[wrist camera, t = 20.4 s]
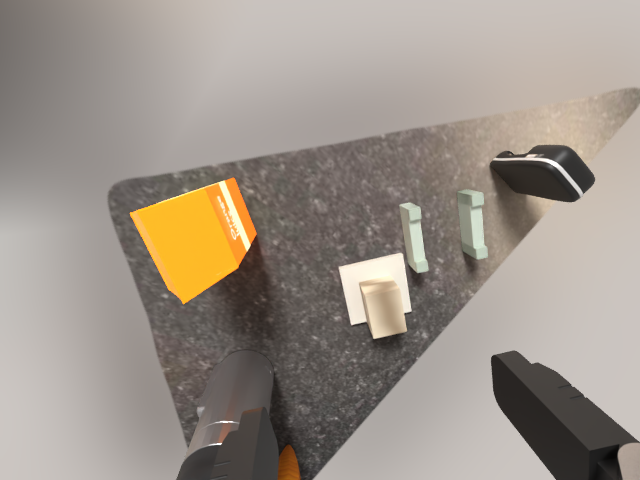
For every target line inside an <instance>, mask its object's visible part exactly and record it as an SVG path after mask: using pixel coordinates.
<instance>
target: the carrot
mask: <svg viewBox="0 0 640 480" xmlns="http://www.w3.org/2000/svg"><path fill="white" fill-rule="evenodd" d="M277 480H301V477H300V471H299V466H298V461H297V458H296V455H295V453H294V450H293V448H292V447H291V445H289V444H288V445H286V446H285V448H284V450H283V451H282V453H281V454H280V457H279V465H278V479H277Z"/></svg>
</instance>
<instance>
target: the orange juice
mask: <svg viewBox="0 0 640 480" xmlns="http://www.w3.org/2000/svg"><path fill="white" fill-rule="evenodd" d="M130 215H131V217H132V219H133V221H134V222H135V224H136V226H137V228H138V230H139V232H140V234H141V236H142V238H143V240H144V242H145V244H146V246H147V248H148V250H149V252H150V254H151V256H152V258H153V260H154V262H155V264H156V266H157V267H158V269H159V271H160V273H161V275H162V277H163V279H164V281H165V283H166V285H167V287H168V289H169V291H172V292H173V293H174V294H175V295H176V296H178V297H179V298H180V299H181V300H182V302H183V304H184V303H186V302H187V301H189V300H190V299H192V298H193V297H195V296H196V295H198V294H199V293H201V292H202V291H204V290H205V289H207V288H208V287H210V286H211V285H213V284H214V283H216V282H217V281H219V280H220V279H222V278H223V277H225V276H226V275H228V274H229V273H231V272H232V271H234V270H235V269H237V268H238V266H239V264H240V262H241V261H242V259H243V257H244V255H245V254H246V252H247V251H248V249H249V247H250V246H251V243H252V241H253V239H254V238H255V236H256V231H255V229H254V226H253V224H252V221H251V219H250V216H249V214H248V211H247V209H246V206H245V204H244V201H243V199H242V196H241V194H240V191H239V189H238V186H237V183H236V181H235V178H232V179H229V180H226V181H222V182H219V183H216V184H213V185H210V186H207V187H204V188H201V189H198V190H195V191H192V192H189V193H186V194H183V195H180V196H177V197H174V198H172V199H169V200H166V201H163V202H160V203H157V204H155V205H152V206H149V207H146V208H143V209H140V210H137V211H134V212H131V213H130Z"/></svg>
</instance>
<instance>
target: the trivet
mask: <svg viewBox="0 0 640 480" xmlns="http://www.w3.org/2000/svg"><path fill="white" fill-rule="evenodd" d="M339 271H340V276H341V280H342V285H343V290H344V294H345V299H346V304H347V308H348V313H349V317H350V322H351V325H354V324H358V323H363V322H367V320H366V316H365V311H364V306H363V301H362V296H361V291H360V286H359V282H363V281H367V280H372V279H376V278H380V277H385V276H389V275H390V276H391V277H392V279H393V280H394V281H395V283H396V284H397V285H398V287H399V288H400V292H401V298H402V304H403V310H404V313H407V312H411V305H410V298H409V292H408V285H407V279H406V272H405V266H404V259H403V254H402V253H398V254H393V255H389V256H385V257H380V258H376V259H372V260H367V261H363V262H358V263H354V264H350V265H345V266H341V267H339Z"/></svg>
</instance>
